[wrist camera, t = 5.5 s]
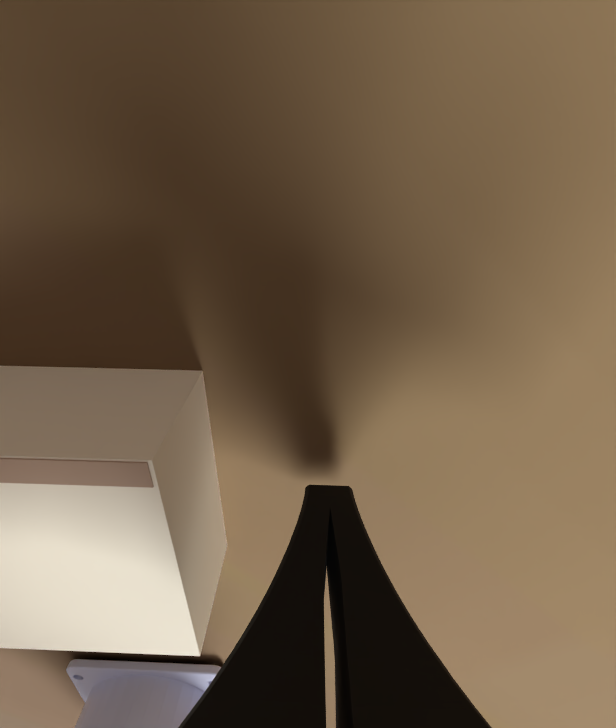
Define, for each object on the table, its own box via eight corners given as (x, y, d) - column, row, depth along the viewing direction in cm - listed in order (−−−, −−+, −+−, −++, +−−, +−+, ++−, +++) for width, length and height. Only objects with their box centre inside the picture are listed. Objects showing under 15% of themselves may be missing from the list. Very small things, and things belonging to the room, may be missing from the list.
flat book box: (228, 541, 15) (199, 657, 12) (-63, 531, 15) (-178, 642, 12) (204, 367, 11) (151, 461, 8) (-181, 358, 12) (-401, 445, 8)
